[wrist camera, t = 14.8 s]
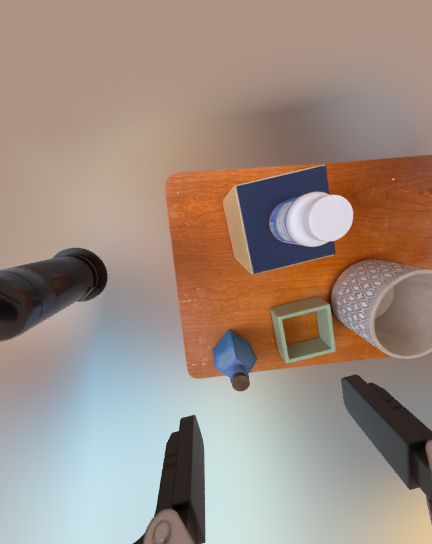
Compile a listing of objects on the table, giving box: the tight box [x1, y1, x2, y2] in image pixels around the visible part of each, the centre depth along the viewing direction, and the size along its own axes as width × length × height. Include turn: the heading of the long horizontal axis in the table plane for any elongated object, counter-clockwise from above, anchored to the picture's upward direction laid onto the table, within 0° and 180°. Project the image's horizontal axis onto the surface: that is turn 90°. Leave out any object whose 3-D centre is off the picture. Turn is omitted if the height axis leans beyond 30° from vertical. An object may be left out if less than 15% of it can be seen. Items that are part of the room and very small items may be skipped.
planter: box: [331, 259, 432, 359], centre depth 43 cm, size 16×16×13 cm
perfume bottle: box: [213, 329, 257, 391], centre depth 44 cm, size 6×6×12 cm
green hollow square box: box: [270, 297, 336, 364], centre depth 47 cm, size 11×11×5 cm
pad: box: [236, 165, 335, 274], centre depth 28 cm, size 12×12×1 cm
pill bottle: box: [269, 192, 353, 247], centre depth 23 cm, size 6×5×10 cm
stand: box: [222, 164, 335, 275], centre depth 36 cm, size 12×12×16 cm
